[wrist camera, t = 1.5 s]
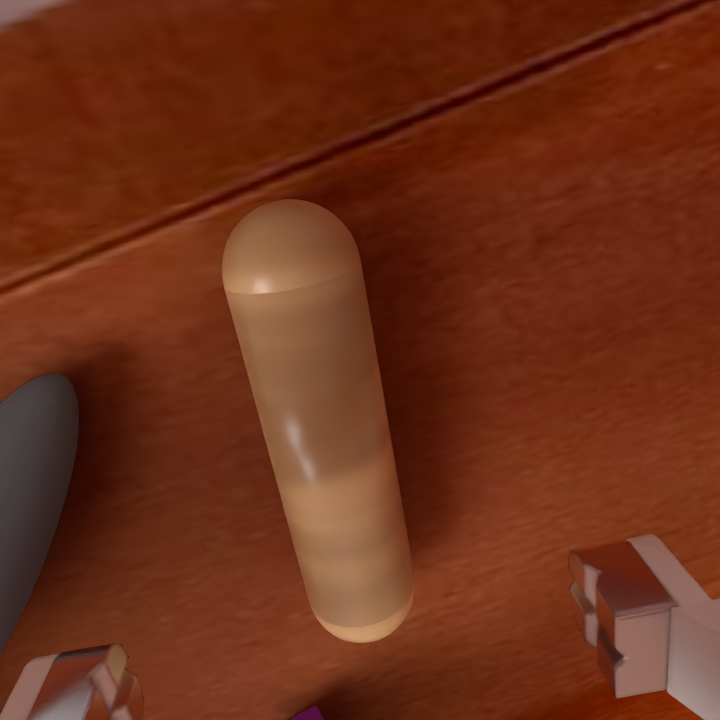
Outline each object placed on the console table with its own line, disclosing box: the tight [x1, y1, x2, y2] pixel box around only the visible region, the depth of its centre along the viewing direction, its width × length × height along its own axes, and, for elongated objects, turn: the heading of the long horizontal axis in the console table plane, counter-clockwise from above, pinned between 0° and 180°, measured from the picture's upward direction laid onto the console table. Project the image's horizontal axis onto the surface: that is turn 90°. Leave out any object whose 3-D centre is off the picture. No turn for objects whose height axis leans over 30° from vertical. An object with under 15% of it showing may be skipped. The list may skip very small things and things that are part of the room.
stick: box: [222, 199, 415, 643], centre depth 16 cm, size 13×3×3 cm, turn 10°
